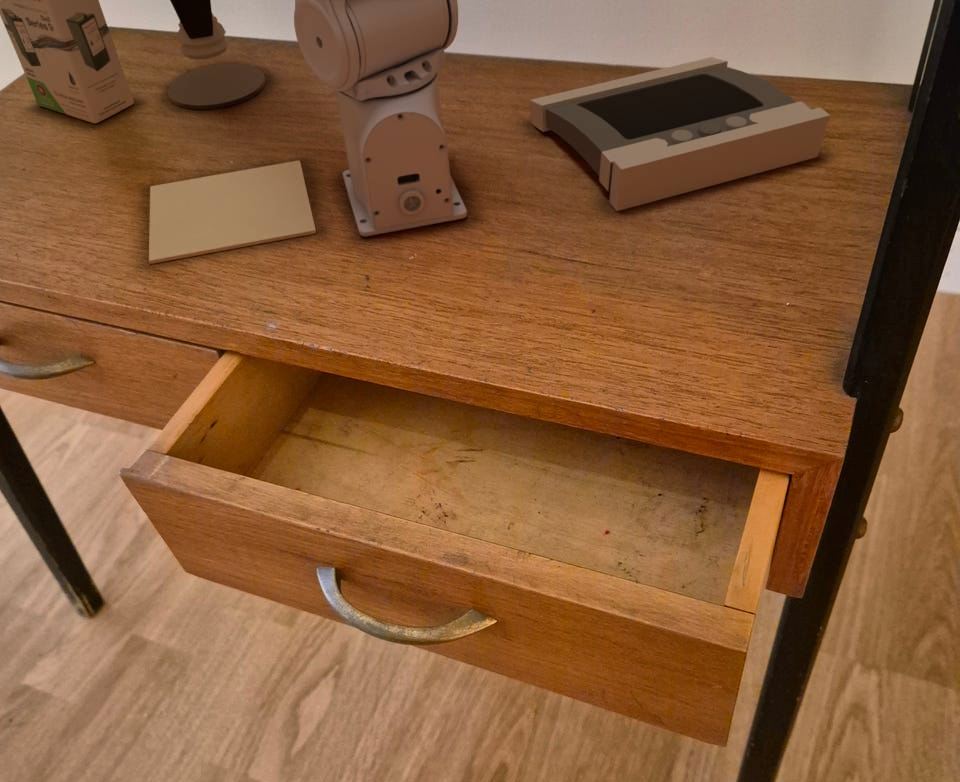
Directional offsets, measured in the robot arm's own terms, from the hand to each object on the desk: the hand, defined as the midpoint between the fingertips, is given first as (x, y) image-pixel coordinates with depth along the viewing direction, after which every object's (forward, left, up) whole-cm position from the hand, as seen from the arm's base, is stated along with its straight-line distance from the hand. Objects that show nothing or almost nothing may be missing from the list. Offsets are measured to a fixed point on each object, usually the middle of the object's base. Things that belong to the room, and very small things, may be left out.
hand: (200, 27), depth 78 cm
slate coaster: (0, 0, -5) cm, 5 cm away
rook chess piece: (0, 0, -2) cm, 2 cm away
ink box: (+1, +12, -6) cm, 13 cm away
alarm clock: (-24, -35, -6) cm, 43 cm away
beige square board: (-23, 0, -5) cm, 24 cm away
